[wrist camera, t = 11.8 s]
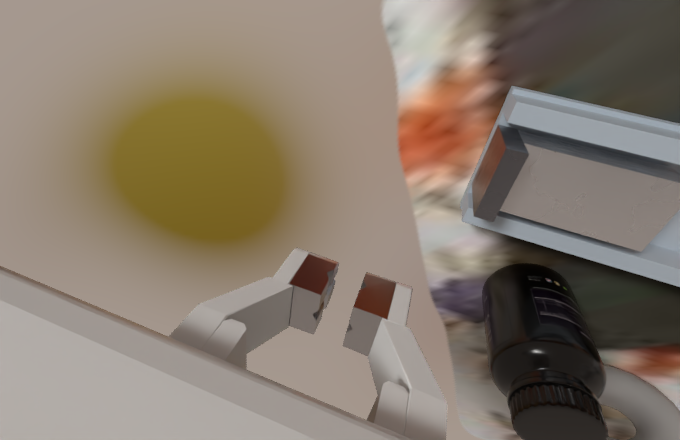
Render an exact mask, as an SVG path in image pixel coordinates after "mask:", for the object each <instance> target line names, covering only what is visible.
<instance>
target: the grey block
mask: <svg viewBox="0 0 680 440" xmlns="http://www.w3.org/2000/svg"><path fill="white" fill-rule="evenodd" d="M472 198H473V216H474V217H477V218H480V219H484V220H487V221H491V222H494V220H495V218H496V216H497V214H498V213H499V211H502V212H506V213H509V214H513V215H516V216H519V217H523V218H526V219H530V220H533V221H537V222H540V223H544V224H547V225H550V226H554V227H557V228H561V229H564V230H568V231H571V232H575V233H578V234H581V235H585V236H588V237H592V238H595V239H599V240H602V241H606V242H609V243H612V244H616V245H619V246H623V247H626V248H630V249H633V250H637V251H640V252H642V251H643V249H644V248H645V247H646V246H647V245H648V244H649V243H650V242H651V241H652V240H653V238H654V237H655V236H656V235H657V234H658V233H659V232H660V231H661V230H662V228H663V227H664V226H665V225H666V224H667V223H668V222H669V221H670V220H671V218H672V217H673V216H674V215H675V214H676V213H677V212H678V211H679V210H680V174H679V173H678V172H676V171H675V170H674V169H672V168H671V167H668V166H664V165H660V164H656V163H652V162H648V161H644V160H640V159H636V158H632V157H628V156H624V155H620V154H616V153H612V152H608V151H604V150H600V149H596V148H591V147H587V146H583V145H579V144H575V143H571V142H567V141H563V140H559V139H555V138H551V137H547V136H543V135H539V134H535V133H531V132H527V131H523V130H519V129H515V128H511V127H507V126H503V125H498V126H497V129H496V131H495V133H494V135H493V137H492V140H491V142H490V144H489V146H488V149H487V151H486V153H485V155H484V158H483V160H482V162H481V164H480V167H479V169H478V171H477V173H476V176H475V178H474V180H473V182H472Z"/></svg>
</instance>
